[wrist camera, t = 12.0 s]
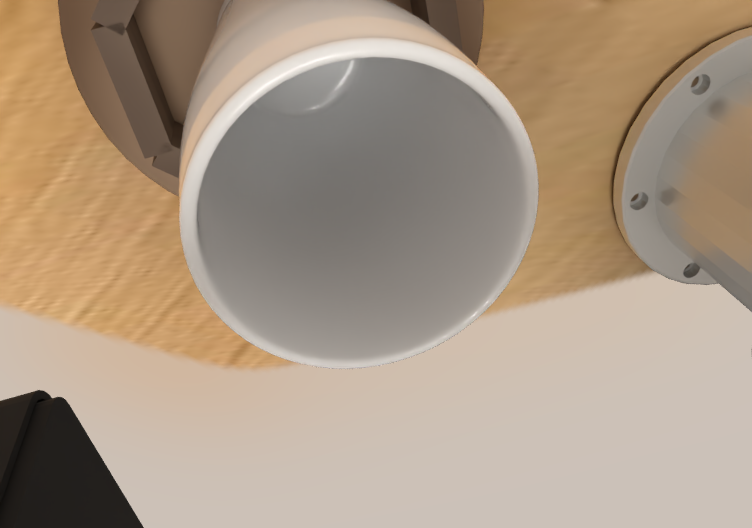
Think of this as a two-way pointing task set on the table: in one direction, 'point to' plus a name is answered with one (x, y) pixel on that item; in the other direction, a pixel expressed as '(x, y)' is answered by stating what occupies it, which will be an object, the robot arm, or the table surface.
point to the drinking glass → (349, 182)
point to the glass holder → (179, 65)
